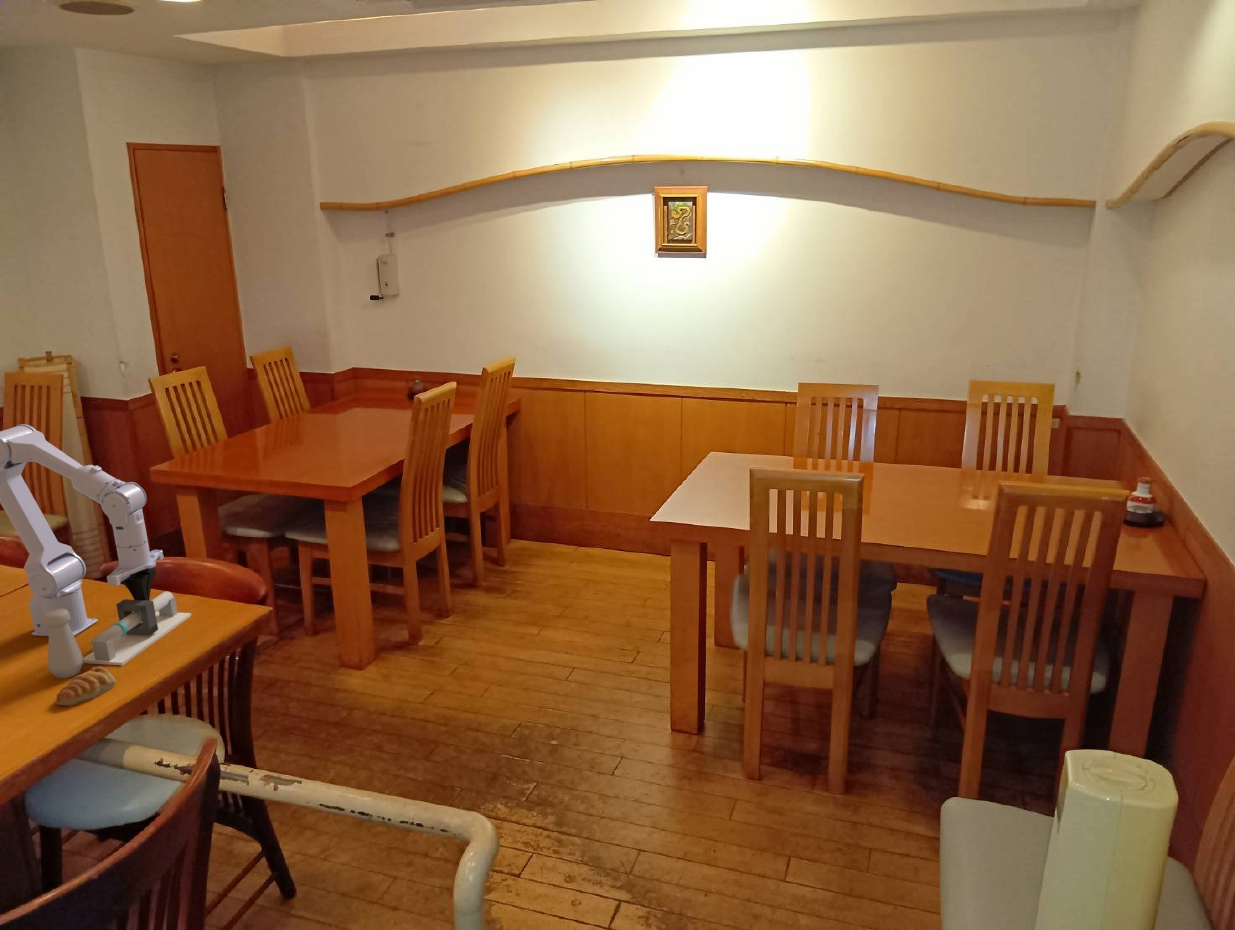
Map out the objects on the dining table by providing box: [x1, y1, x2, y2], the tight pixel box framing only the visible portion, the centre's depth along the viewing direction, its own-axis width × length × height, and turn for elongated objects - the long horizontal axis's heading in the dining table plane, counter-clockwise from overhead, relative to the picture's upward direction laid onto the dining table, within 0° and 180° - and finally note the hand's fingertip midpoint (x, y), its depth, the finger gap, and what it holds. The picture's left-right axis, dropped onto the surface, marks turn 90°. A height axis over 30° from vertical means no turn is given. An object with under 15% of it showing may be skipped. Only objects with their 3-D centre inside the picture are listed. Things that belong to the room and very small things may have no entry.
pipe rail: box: [83, 591, 192, 666], centre depth 180 cm, size 22×9×6 cm, turn 172°
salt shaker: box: [43, 609, 84, 680], centre depth 165 cm, size 6×6×13 cm
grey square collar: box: [115, 598, 158, 635], centre depth 180 cm, size 2×7×7 cm, turn 82°
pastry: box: [56, 666, 116, 706], centre depth 159 cm, size 9×7×4 cm
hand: (142, 603), depth 182 cm, fingers closed
